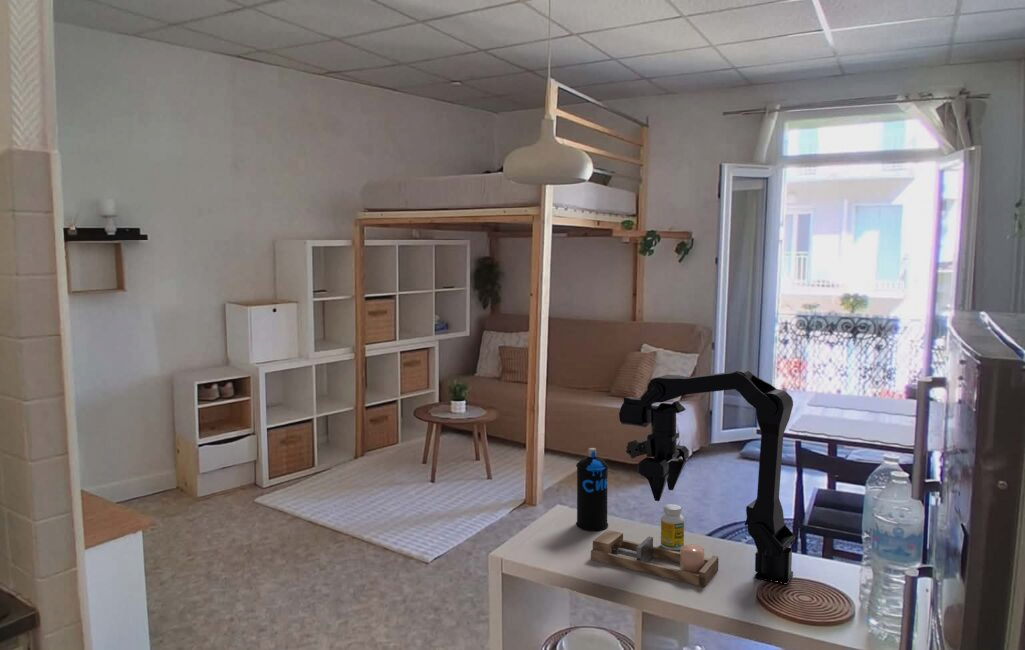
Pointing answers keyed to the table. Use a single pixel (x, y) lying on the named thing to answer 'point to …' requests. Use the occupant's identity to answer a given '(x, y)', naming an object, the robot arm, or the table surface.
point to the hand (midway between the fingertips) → (664, 495)
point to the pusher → (640, 550)
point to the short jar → (692, 558)
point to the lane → (615, 541)
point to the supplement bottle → (672, 527)
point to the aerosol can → (592, 492)
